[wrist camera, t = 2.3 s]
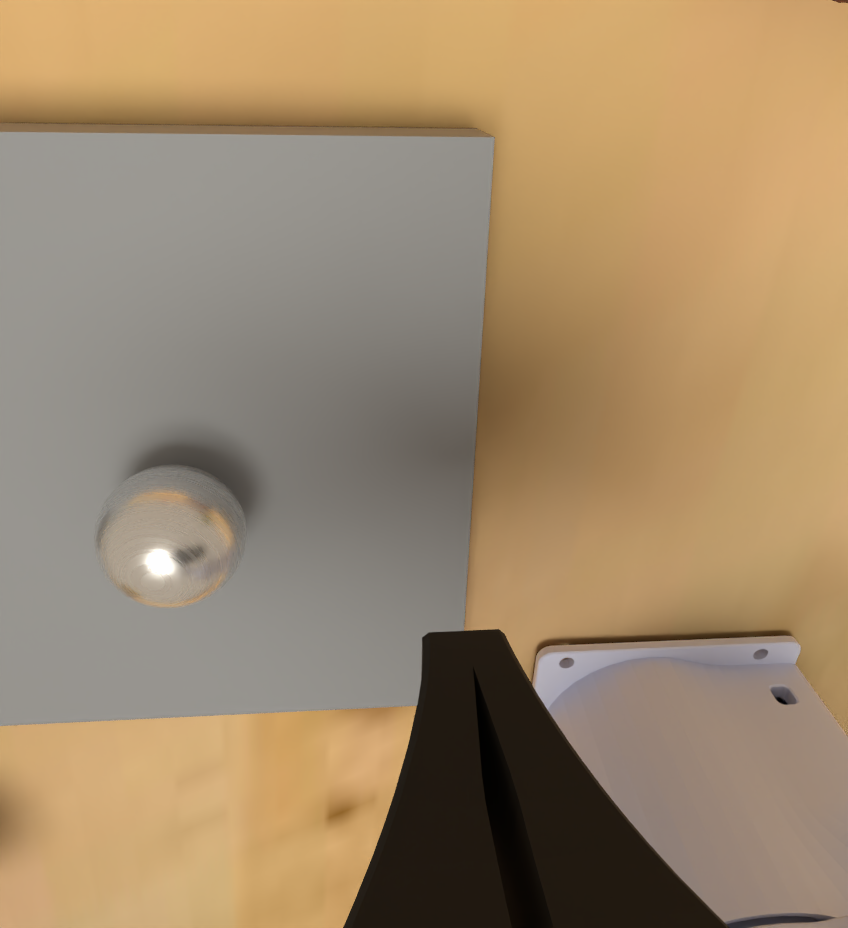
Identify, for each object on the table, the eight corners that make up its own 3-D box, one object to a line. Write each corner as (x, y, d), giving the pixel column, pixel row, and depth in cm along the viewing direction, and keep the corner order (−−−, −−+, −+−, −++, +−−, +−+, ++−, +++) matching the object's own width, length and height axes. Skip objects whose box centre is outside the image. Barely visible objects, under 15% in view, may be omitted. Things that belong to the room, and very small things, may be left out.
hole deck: (476, 128, 15) (494, 137, 13) (451, 644, 23) (459, 703, 21) (-499, 116, 13) (-666, 123, 11) (-159, 670, 22) (-218, 736, 19)
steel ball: (248, 438, 16) (222, 516, 13) (263, 546, 17) (242, 636, 14) (108, 440, 15) (50, 520, 13) (136, 550, 17) (91, 642, 14)
